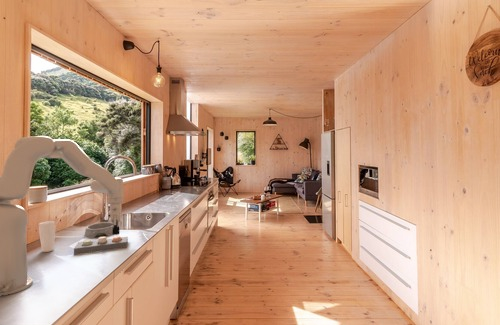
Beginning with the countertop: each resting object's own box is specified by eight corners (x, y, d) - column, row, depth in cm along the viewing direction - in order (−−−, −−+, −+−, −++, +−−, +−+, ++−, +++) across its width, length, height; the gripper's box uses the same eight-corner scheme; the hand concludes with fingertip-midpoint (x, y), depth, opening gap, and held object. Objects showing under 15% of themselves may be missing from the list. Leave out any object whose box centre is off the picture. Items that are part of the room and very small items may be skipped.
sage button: (91, 247, 138) (90, 241, 138) (82, 248, 136) (81, 243, 136) (92, 245, 142) (92, 239, 142) (83, 246, 140) (83, 240, 140)
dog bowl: (117, 234, 166) (117, 226, 165) (83, 239, 157) (82, 230, 156) (116, 228, 180) (116, 220, 180) (85, 232, 172) (84, 224, 171)
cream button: (106, 243, 141) (106, 238, 140) (97, 245, 139) (97, 239, 139) (107, 241, 144) (106, 236, 144) (98, 242, 143) (98, 237, 143)
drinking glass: (47, 253, 134) (46, 224, 134) (36, 252, 136) (35, 223, 135) (59, 248, 141) (58, 221, 141) (48, 248, 142) (47, 220, 142)
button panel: (126, 247, 142) (126, 241, 142) (74, 254, 133) (73, 248, 132) (127, 241, 151) (127, 236, 151) (78, 248, 142) (78, 242, 142)
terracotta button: (120, 243, 143) (120, 238, 143) (112, 244, 142) (112, 239, 142) (121, 241, 147) (121, 236, 147) (113, 242, 145) (113, 237, 145)
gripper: (122, 202, 138) (122, 237, 138) (124, 198, 152) (124, 230, 152) (106, 203, 135) (106, 238, 135) (109, 199, 149) (109, 231, 149)
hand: (116, 234), depth 144 cm, fingers closed
